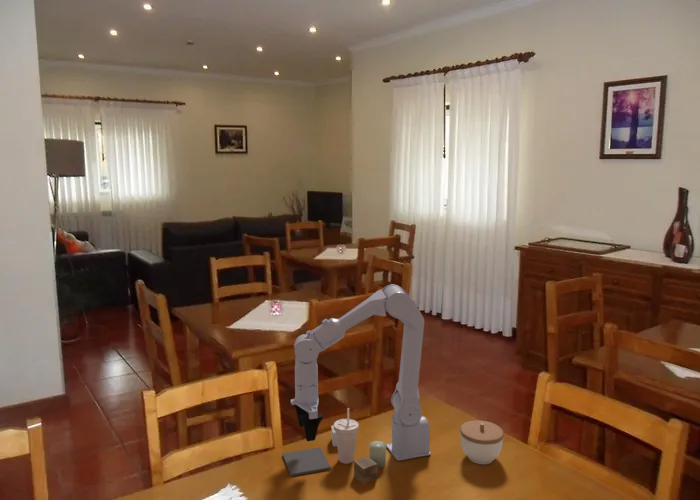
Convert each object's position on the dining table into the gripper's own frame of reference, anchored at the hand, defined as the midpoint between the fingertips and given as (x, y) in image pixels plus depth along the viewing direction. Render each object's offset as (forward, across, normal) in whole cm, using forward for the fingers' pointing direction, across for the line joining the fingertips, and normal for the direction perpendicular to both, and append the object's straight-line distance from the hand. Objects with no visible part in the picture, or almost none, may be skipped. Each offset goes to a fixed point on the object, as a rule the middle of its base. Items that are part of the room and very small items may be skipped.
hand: (307, 432), depth 142 cm
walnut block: (+7, +13, +11) cm, 19 cm away
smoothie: (+7, +4, +9) cm, 12 cm away
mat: (+7, +2, -1) cm, 7 cm away
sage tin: (+7, +8, +16) cm, 19 cm away
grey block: (+7, -5, +10) cm, 13 cm away
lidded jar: (+7, +14, +42) cm, 45 cm away
